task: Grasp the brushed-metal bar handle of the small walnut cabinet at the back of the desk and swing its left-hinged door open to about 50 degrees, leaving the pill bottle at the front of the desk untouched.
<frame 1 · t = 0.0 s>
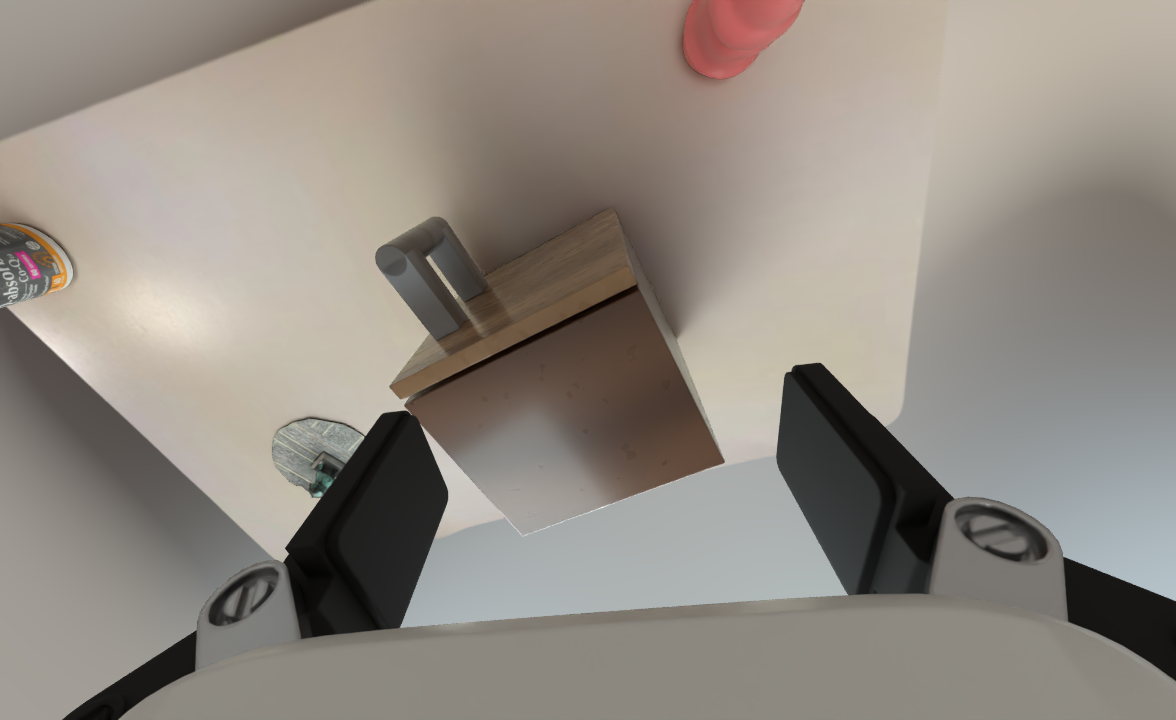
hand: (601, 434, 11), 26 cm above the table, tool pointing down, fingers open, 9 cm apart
sculpture: (331, 461, 46), on the table
cabinet: (578, 319, 38), on the table
pill bottle: (41, 255, 35), on the table
door: (500, 245, 26), point 8 cm above the table, hinge at 0.0°
figurine: (713, 37, 28), on the table
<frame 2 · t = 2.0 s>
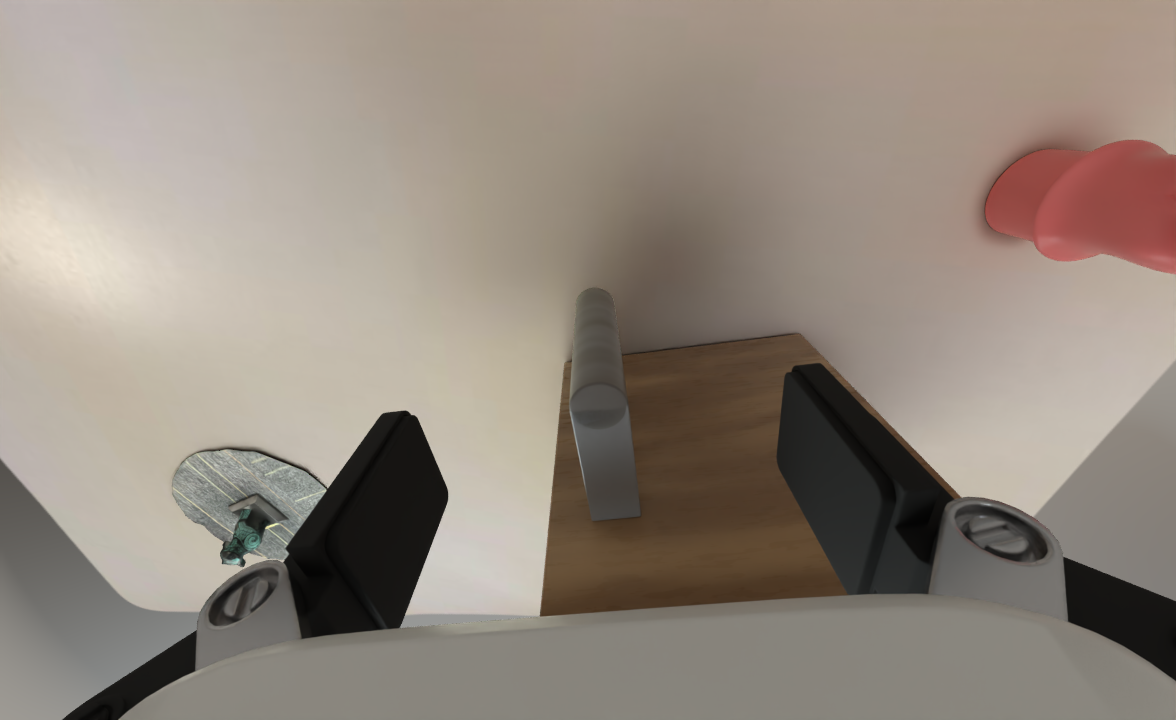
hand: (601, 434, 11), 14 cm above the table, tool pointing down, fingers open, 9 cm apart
sculpture: (263, 506, 32), on the table
door: (714, 386, 17), point 8 cm above the table, hinge at 0.0°
figurine: (1028, 190, 21), on the table
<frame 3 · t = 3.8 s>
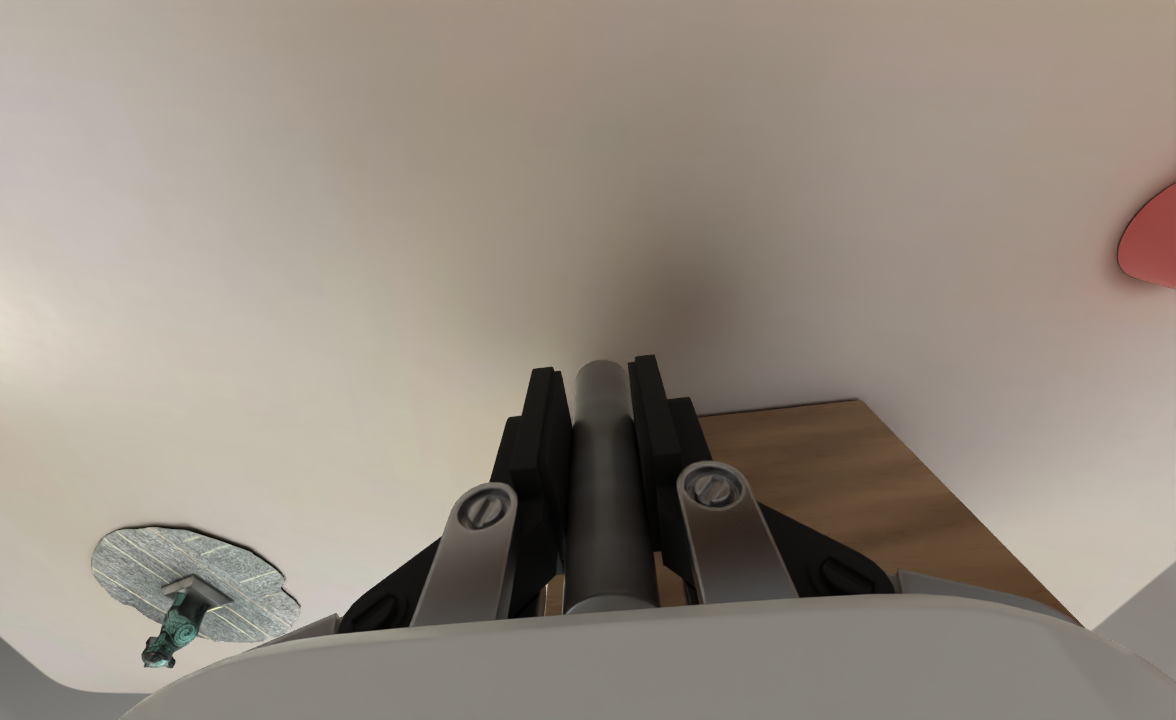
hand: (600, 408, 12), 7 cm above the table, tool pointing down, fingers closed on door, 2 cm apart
sculpture: (203, 586, 27), on the table
door: (775, 515, 12), point 8 cm above the table, hinge at 0.0°, touching gripper
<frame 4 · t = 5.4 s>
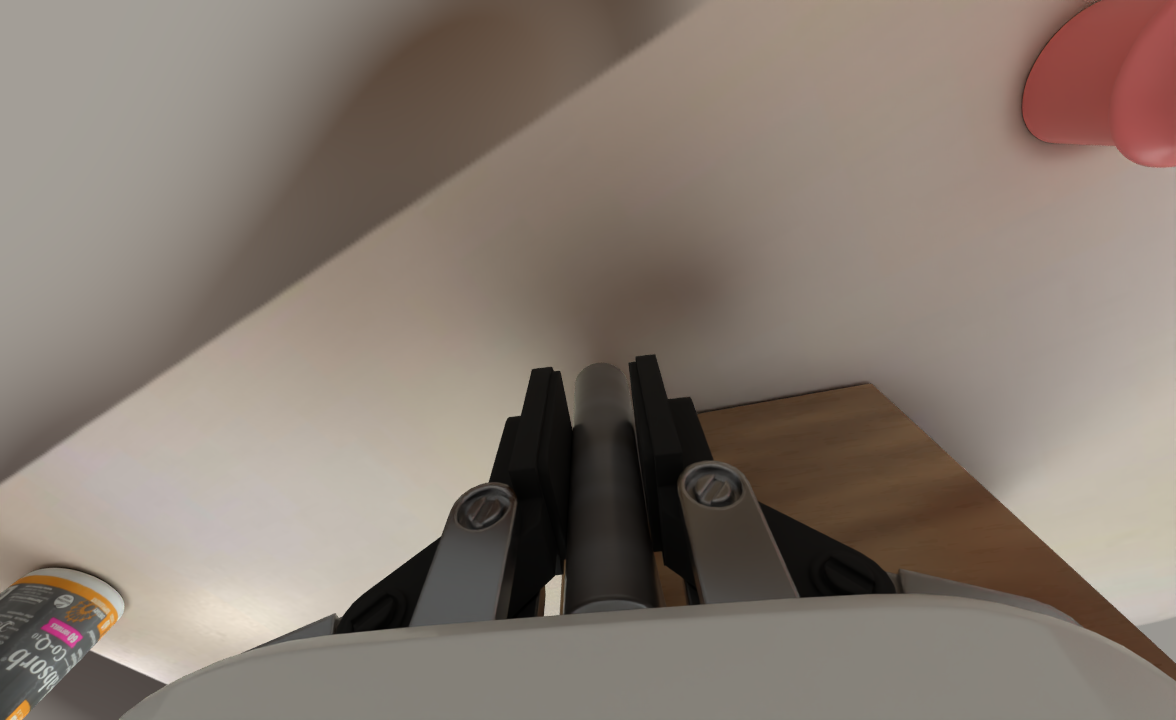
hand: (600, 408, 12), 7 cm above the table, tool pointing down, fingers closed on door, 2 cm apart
pill bottle: (83, 587, 27), on the table
door: (781, 508, 12), point 8 cm above the table, hinge at 29.8°, touching gripper
figurine: (1087, 69, 14), on the table
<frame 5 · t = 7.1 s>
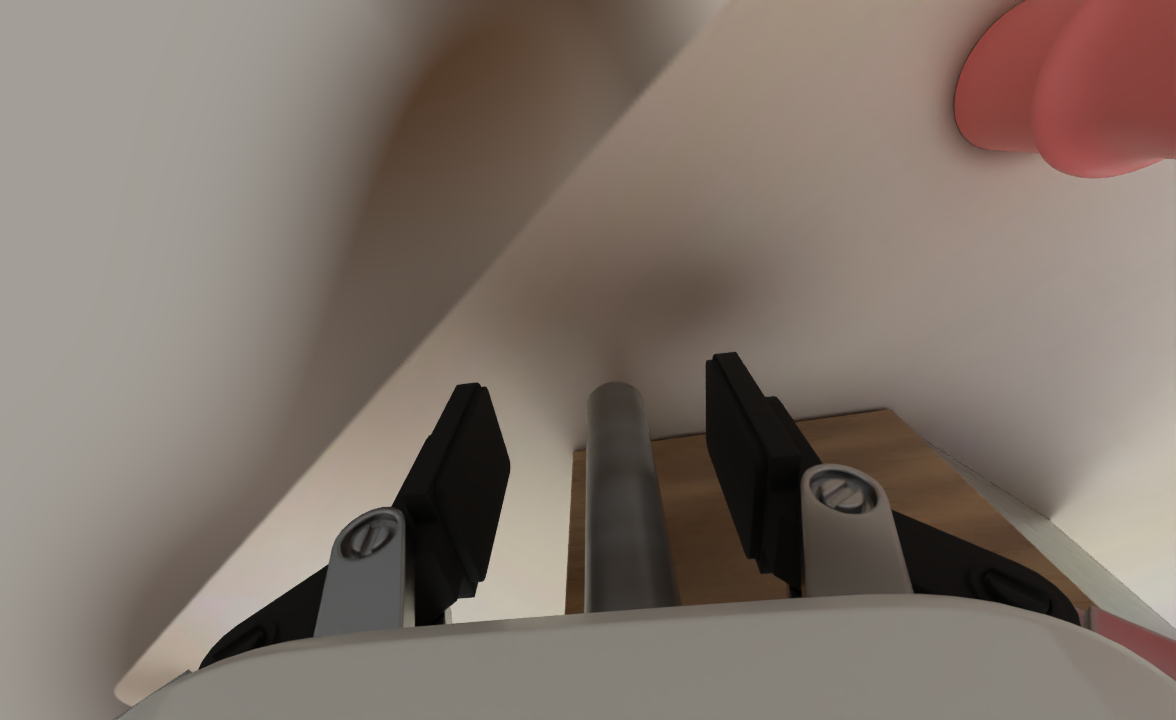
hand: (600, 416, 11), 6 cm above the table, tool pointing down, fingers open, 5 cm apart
cabinet: (863, 555, 23), on the table
door: (811, 551, 11), point 8 cm above the table, hinge at 47.9°
figurine: (1022, 71, 13), on the table
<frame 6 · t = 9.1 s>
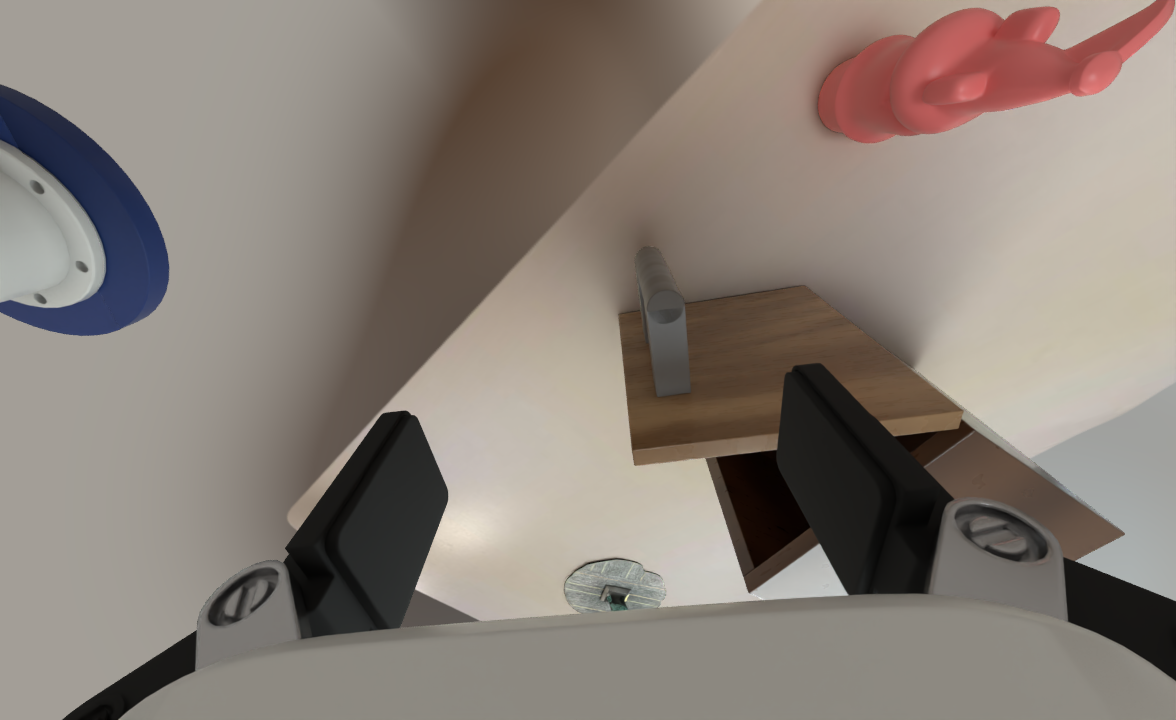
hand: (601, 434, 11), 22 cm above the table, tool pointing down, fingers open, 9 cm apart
sculpture: (614, 589, 51), on the table
cabinet: (799, 396, 36), on the table
door: (739, 310, 24), point 8 cm above the table, hinge at 47.9°
figurine: (850, 93, 26), on the table
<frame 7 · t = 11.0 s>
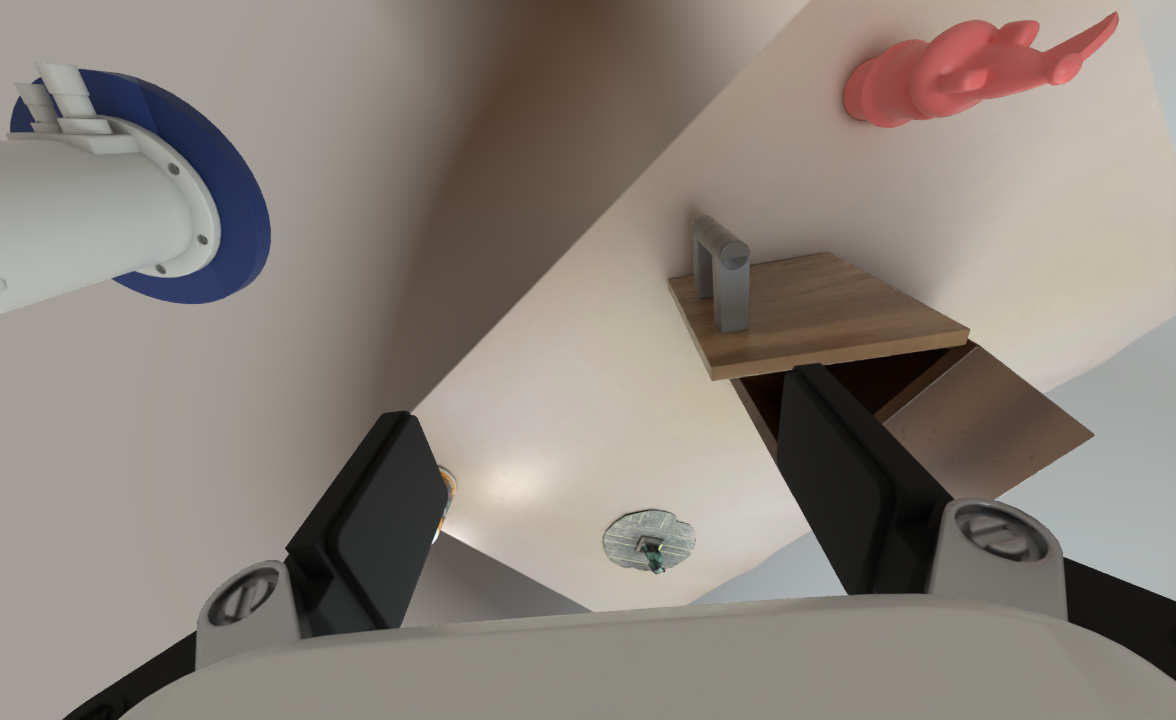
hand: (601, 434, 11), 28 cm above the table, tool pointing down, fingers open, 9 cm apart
sculpture: (648, 540, 56), on the table
cabinet: (821, 352, 42), on the table
pill bottle: (433, 479, 51), on the table
door: (783, 265, 29), point 8 cm above the table, hinge at 47.9°
figurine: (870, 87, 31), on the table
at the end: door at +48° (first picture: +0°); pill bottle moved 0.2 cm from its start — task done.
